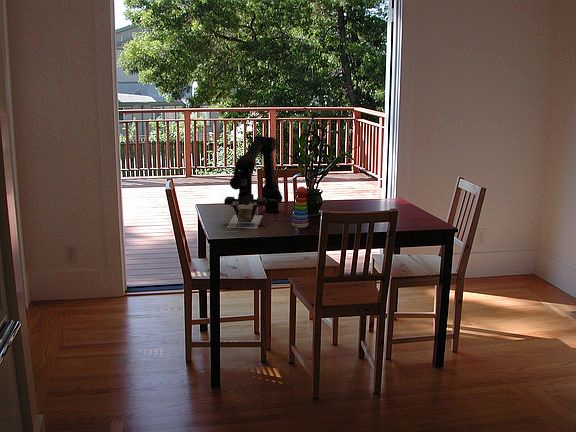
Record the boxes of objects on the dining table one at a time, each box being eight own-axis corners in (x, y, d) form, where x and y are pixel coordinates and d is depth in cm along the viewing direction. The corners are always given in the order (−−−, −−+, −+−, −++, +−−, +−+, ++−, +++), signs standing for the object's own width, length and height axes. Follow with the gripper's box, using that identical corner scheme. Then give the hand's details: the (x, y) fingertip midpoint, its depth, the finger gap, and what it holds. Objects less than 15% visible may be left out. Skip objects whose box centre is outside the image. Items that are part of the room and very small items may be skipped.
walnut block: (252, 219, 319) (252, 209, 318) (251, 222, 314) (251, 211, 312) (239, 219, 320) (239, 208, 319) (238, 222, 314) (238, 211, 313)
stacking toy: (296, 228, 314) (297, 188, 310) (288, 225, 321) (288, 185, 317) (311, 227, 318) (312, 187, 314) (303, 223, 325) (304, 184, 321)
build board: (262, 217, 337) (262, 215, 337) (256, 230, 311) (257, 228, 311) (234, 216, 338) (234, 214, 338) (226, 229, 312) (226, 227, 312)
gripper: (222, 188, 306) (222, 222, 309) (264, 189, 305) (263, 224, 308) (226, 184, 317) (226, 217, 320) (266, 185, 316) (266, 218, 319)
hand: (245, 219), depth 317 cm, fingers closed on walnut block, 6 cm apart
